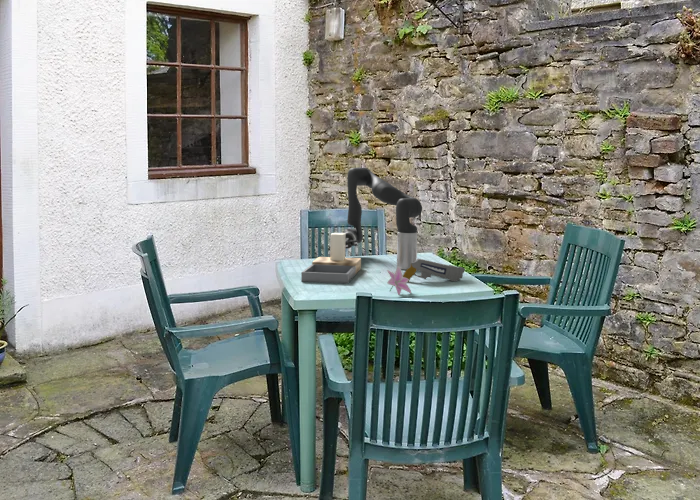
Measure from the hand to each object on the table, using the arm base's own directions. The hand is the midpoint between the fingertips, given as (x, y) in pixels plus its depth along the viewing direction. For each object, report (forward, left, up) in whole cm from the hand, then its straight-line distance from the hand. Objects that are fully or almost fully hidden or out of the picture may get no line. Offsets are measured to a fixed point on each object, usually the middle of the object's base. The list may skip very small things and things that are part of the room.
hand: (341, 244), depth 358 cm
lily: (-33, +58, -11) cm, 67 cm away
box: (0, +32, -10) cm, 34 cm away
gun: (-45, +29, -11) cm, 55 cm away
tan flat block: (0, +13, -10) cm, 17 cm away
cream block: (0, +11, -5) cm, 12 cm away
